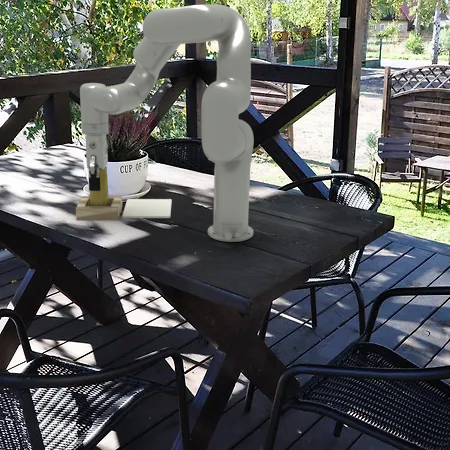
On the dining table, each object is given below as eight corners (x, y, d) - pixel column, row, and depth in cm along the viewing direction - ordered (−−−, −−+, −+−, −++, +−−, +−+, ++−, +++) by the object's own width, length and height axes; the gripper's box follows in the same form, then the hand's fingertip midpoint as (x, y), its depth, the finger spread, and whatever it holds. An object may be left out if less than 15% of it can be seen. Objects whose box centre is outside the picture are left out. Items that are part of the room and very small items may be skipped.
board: (170, 218, 177) (170, 216, 177) (122, 217, 176) (122, 216, 176) (171, 201, 192) (171, 199, 192) (127, 200, 191) (127, 199, 191)
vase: (85, 214, 178) (82, 168, 173) (98, 208, 183) (96, 163, 178) (101, 218, 176) (99, 171, 171) (114, 212, 181) (112, 166, 176)
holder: (118, 220, 174) (117, 208, 173) (76, 220, 174) (75, 208, 172) (122, 206, 186) (122, 196, 184) (83, 206, 185) (82, 196, 184)
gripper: (104, 135, 163) (106, 195, 169) (112, 122, 179) (113, 177, 185) (76, 134, 162) (79, 194, 168) (86, 121, 178) (88, 176, 185)
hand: (97, 185), depth 177 cm, fingers open, 9 cm apart
